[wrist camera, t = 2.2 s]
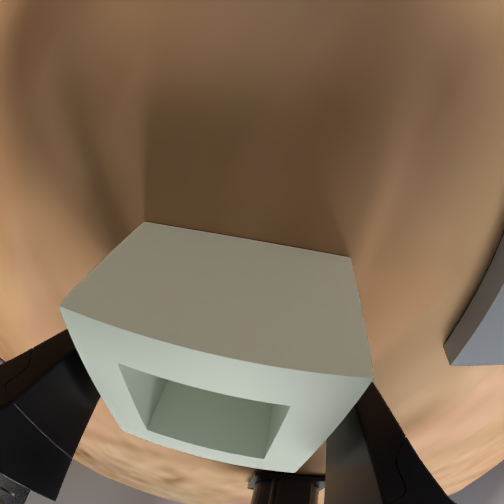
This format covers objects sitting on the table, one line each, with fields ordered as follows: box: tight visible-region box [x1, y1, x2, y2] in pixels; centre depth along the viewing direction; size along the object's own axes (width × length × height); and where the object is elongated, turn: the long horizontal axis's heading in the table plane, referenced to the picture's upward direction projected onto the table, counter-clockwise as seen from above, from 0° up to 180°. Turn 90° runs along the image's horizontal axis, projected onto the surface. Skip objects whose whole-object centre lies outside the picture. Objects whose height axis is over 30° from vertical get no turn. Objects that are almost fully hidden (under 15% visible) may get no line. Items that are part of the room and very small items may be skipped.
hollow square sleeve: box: [58, 222, 374, 473], centre depth 8 cm, size 6×6×4 cm
